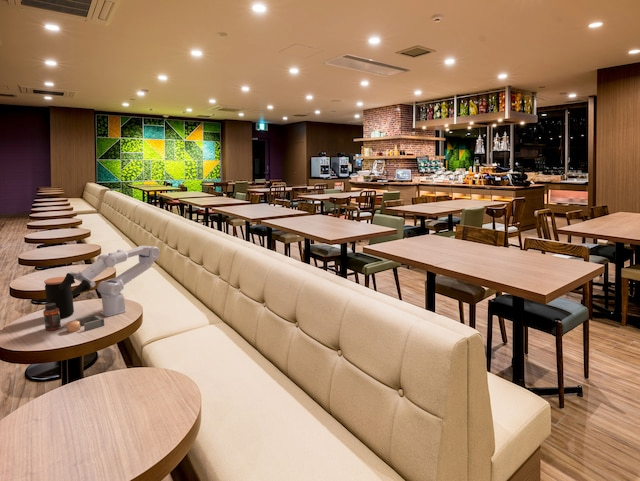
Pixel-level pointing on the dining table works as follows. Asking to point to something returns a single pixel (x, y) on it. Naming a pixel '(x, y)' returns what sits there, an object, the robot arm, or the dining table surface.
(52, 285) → the coffee jar
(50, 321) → the supplement bottle
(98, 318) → the dock
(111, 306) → the robot arm
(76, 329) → the tan rounded knob
